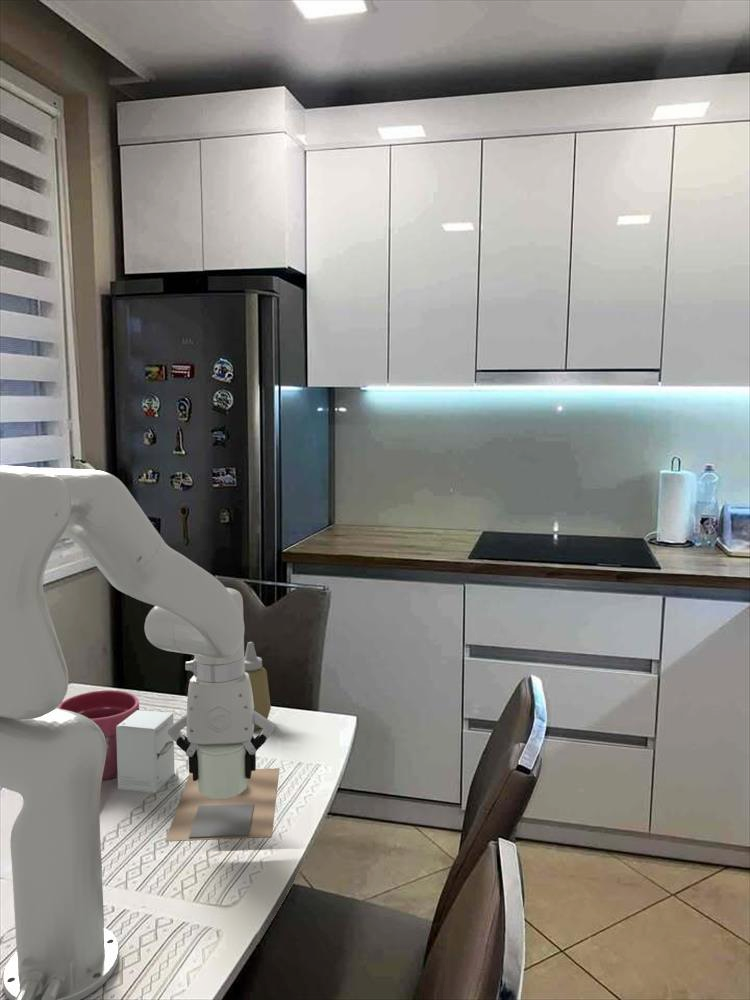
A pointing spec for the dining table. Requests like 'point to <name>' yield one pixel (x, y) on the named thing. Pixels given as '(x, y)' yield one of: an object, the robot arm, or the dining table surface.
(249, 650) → the squeeze bottle
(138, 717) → the supplement box
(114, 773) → the plant pot
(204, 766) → the sage cup
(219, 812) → the tan flat board
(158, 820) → the dining table surface
